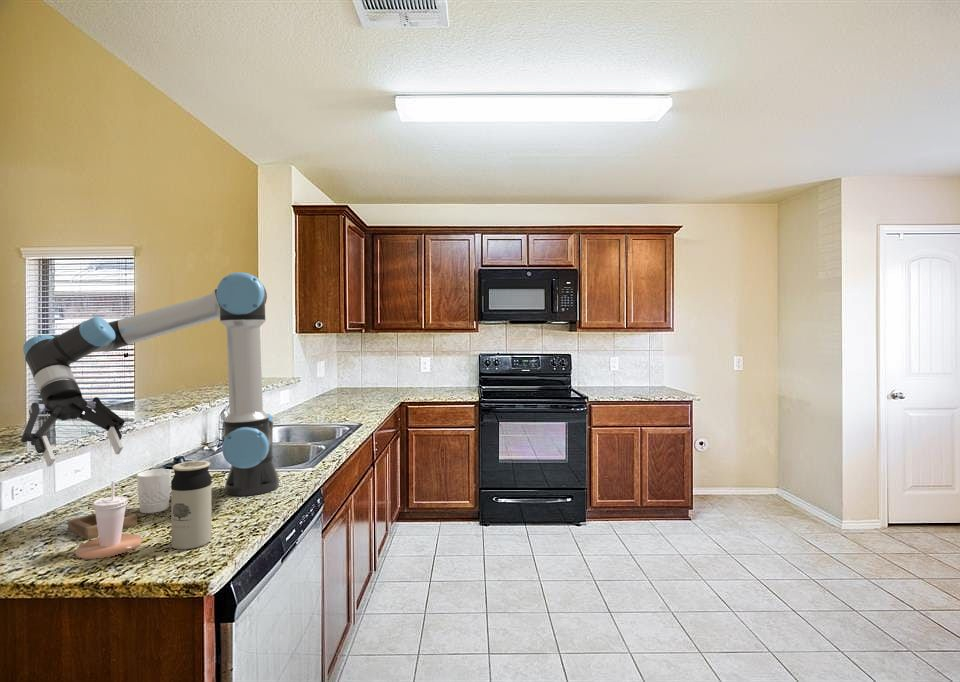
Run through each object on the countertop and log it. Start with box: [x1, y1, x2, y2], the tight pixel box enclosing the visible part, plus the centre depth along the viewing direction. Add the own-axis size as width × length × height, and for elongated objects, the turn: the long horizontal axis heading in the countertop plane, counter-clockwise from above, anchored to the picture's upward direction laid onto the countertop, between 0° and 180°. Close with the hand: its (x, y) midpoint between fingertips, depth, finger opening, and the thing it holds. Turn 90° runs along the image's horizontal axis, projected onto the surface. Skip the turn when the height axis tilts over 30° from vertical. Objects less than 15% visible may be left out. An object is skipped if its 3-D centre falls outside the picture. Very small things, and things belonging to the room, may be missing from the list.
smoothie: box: [92, 480, 129, 547], centre depth 115 cm, size 6×6×14 cm
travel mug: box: [170, 460, 212, 550], centre depth 118 cm, size 8×8×18 cm
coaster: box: [75, 533, 143, 560], centre depth 115 cm, size 12×12×1 cm
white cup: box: [136, 468, 172, 514], centre depth 141 cm, size 8×8×10 cm
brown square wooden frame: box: [67, 510, 138, 540], centre depth 127 cm, size 10×10×2 cm
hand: (87, 456), depth 121 cm, fingers open, 13 cm apart
